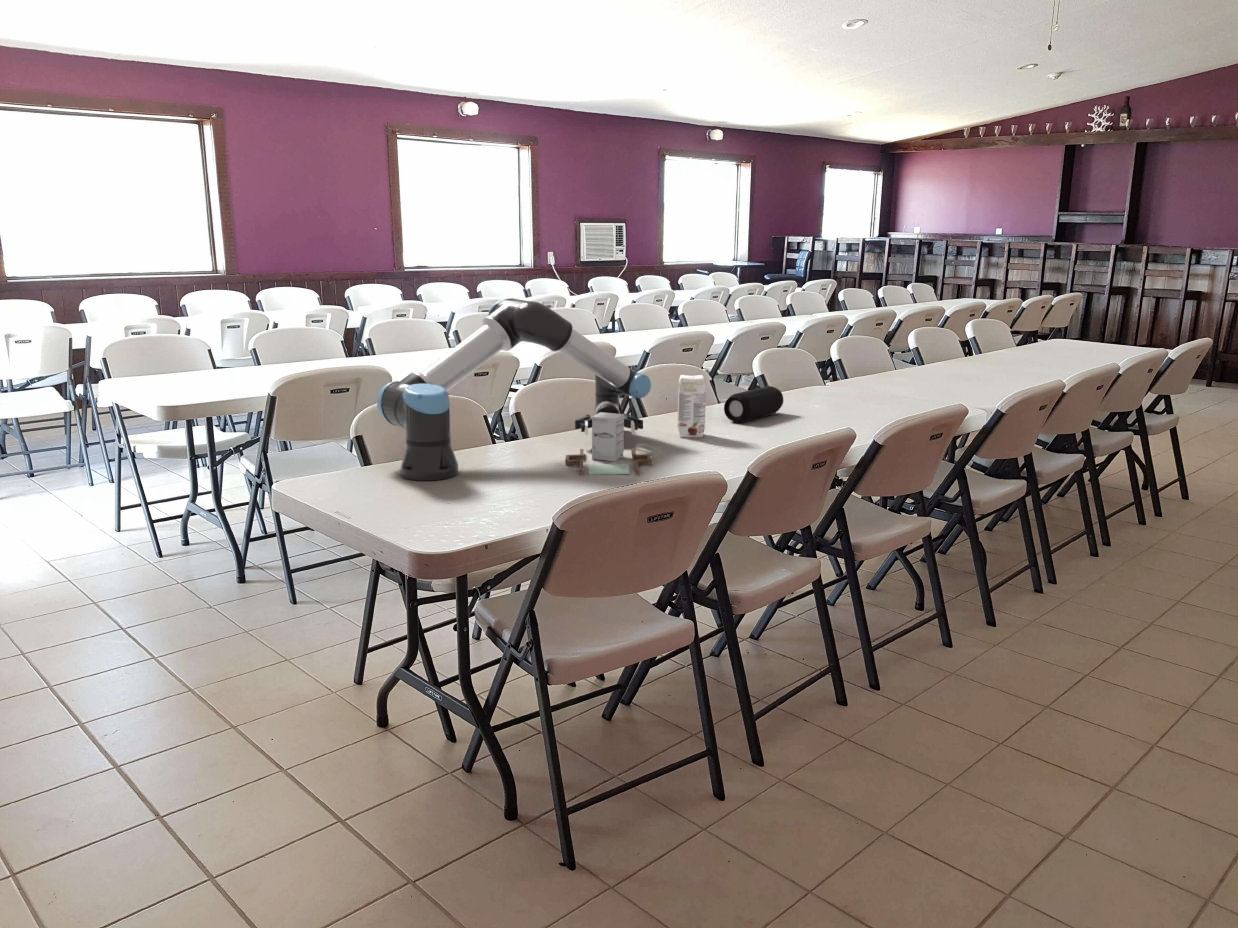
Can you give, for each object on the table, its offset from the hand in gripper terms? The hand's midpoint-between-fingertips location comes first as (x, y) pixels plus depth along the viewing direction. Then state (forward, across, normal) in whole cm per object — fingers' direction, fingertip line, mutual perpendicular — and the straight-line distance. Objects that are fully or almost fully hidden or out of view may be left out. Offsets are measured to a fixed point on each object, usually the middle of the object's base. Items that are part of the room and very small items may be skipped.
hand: (609, 430), depth 274 cm
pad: (+18, +1, -7) cm, 19 cm away
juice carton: (-24, -26, -7) cm, 37 cm away
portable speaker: (-52, -52, -8) cm, 74 cm away
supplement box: (+4, +1, -7) cm, 9 cm away
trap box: (+11, +1, -7) cm, 14 cm away
